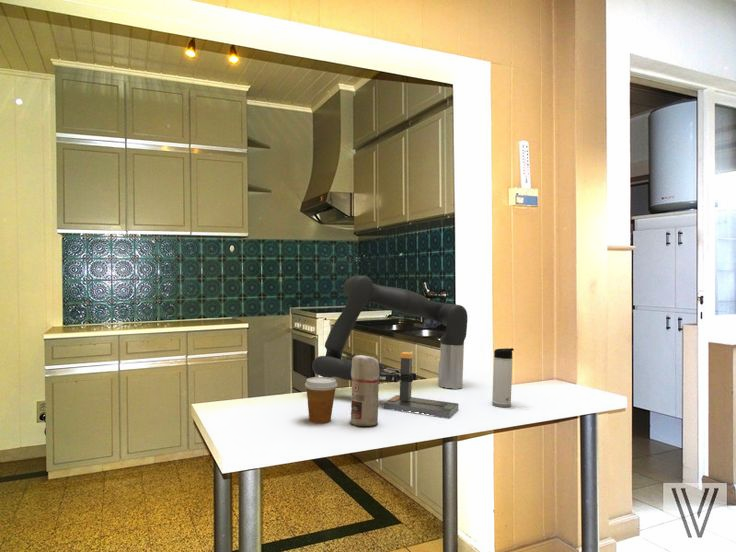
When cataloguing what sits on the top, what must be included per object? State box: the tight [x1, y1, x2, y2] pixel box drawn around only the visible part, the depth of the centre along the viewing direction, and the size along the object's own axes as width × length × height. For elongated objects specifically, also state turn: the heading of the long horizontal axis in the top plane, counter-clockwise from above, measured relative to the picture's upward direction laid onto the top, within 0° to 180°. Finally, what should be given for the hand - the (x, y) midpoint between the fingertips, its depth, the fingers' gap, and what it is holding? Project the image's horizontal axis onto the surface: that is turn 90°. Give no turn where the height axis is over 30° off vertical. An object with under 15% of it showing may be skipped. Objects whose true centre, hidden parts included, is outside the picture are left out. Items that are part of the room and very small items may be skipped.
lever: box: [399, 351, 414, 401], centre depth 165 cm, size 3×3×16 cm
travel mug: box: [491, 347, 514, 409], centre depth 171 cm, size 6×7×20 cm
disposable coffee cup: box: [304, 376, 338, 424], centre depth 146 cm, size 10×10×12 cm
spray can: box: [349, 354, 380, 427], centre depth 144 cm, size 8×8×20 cm
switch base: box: [383, 394, 460, 419], centre depth 163 cm, size 22×12×2 cm, turn 66°
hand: (414, 377), depth 164 cm, fingers closed on lever, 3 cm apart
